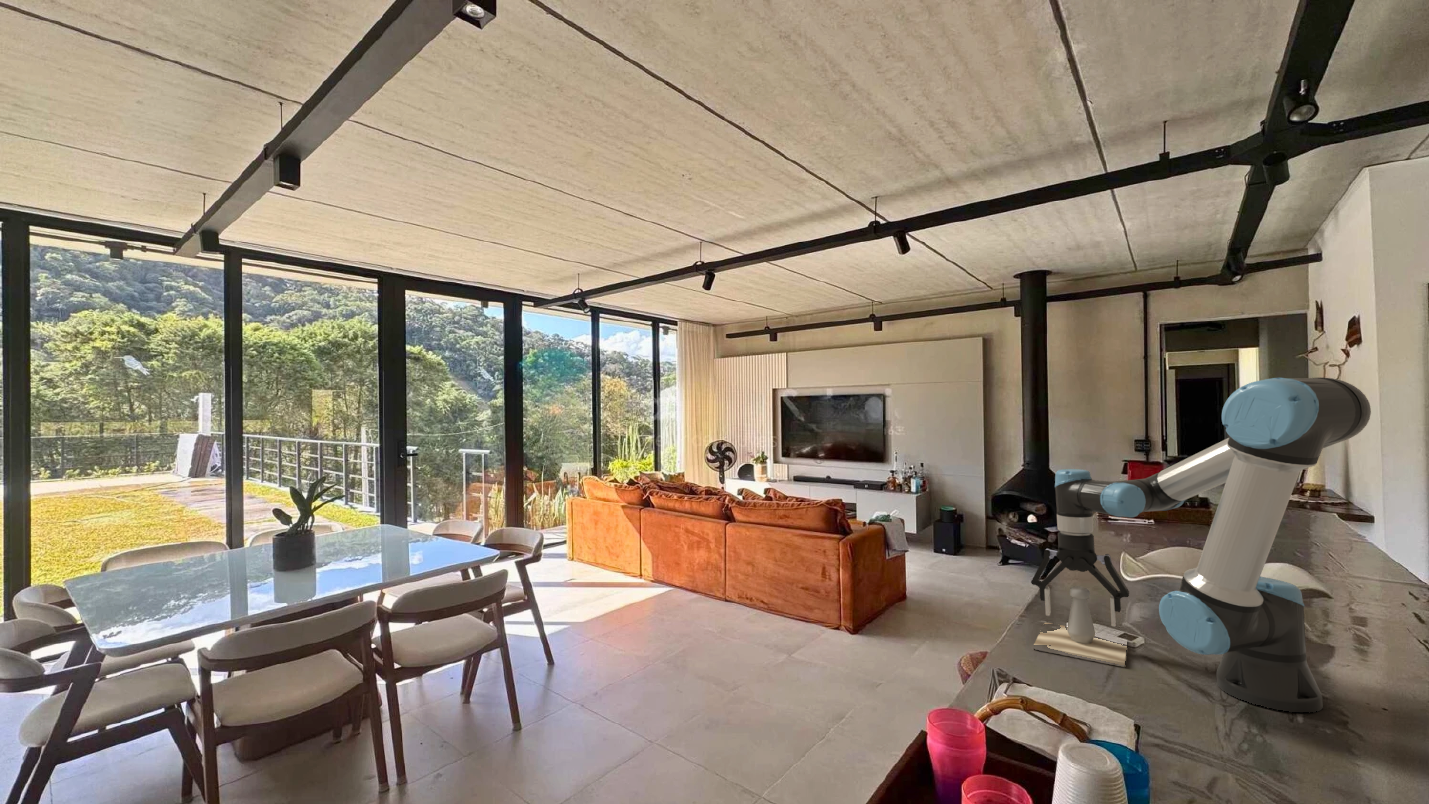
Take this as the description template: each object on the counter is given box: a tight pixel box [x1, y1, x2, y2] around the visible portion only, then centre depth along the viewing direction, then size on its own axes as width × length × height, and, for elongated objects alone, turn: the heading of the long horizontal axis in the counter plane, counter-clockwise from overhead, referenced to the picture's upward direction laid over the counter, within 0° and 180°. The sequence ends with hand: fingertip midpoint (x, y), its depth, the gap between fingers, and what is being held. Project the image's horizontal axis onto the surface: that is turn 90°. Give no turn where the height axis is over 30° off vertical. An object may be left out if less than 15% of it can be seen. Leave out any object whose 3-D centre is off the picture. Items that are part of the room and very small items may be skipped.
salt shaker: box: [1067, 585, 1096, 644], centre depth 139 cm, size 6×6×13 cm
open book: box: [1033, 622, 1128, 666], centre depth 139 cm, size 18×18×1 cm
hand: (1080, 619), depth 139 cm, fingers open, 13 cm apart
